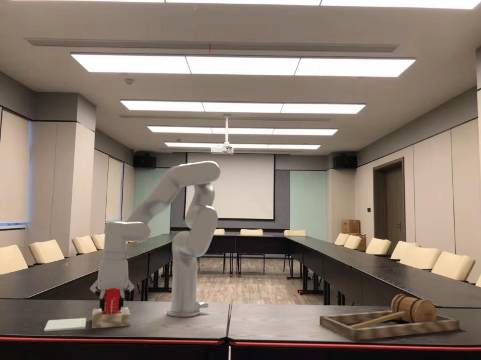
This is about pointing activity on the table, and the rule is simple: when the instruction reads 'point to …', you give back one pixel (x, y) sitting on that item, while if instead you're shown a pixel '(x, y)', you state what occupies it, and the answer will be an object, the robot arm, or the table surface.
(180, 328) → the table surface
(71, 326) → the coaster board
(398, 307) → the mallet
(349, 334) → the gavel rest frame
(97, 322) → the can holder
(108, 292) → the beverage can
